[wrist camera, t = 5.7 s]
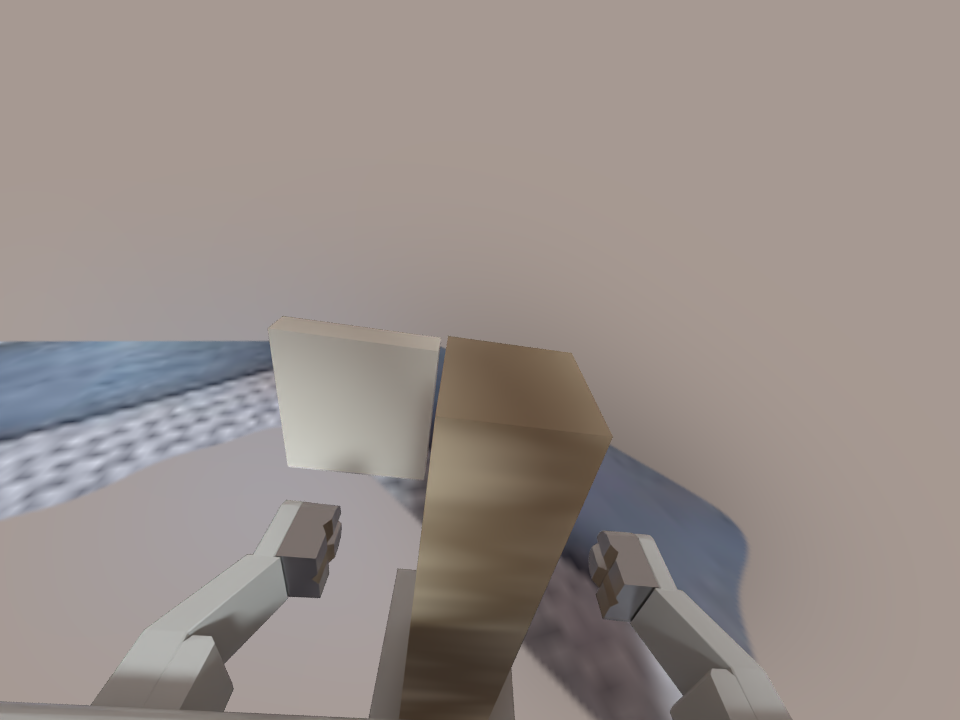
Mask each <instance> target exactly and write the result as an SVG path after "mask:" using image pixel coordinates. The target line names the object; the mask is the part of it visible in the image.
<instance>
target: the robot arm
mask: <svg viewBox="0 0 960 720" xmlns="http://www.w3.org/2000/svg"><path fill="white" fill-rule="evenodd" d="M340 515H341V510H340V506H335V505H326V504H318V503H309V502H301V501H291V500H286V501H285V502H284V503H283V504H282V505H281V506H280V508H279V510H278V511H277V513H276V515H275V517H274V518H273V520H272V522H271V524H270V525H269V527H268V529H267V531H266V532H265V534H264V536H263V538H262V539H261V541H260V543H259V545H258V546H257V548H256V550H255V552H254V553H253V555H251V554H247V555H246V556H244V557H243V558H242V559H240V560H239V561H237V562H236V563H235V564H233V565H232V566H231V567H229V568H228V569H227V570H225V571H224V572H223V573H221V574H220V575H218V576H217V577H216V578H214V579H213V580H212V581H210V582H209V583H207V584H206V585H205V586H203V587H202V588H201V589H199V590H198V591H196V592H195V593H194V594H192V595H191V596H190V597H188V598H187V599H186V600H184V601H183V602H182V603H180V604H179V605H178V606H176V607H175V608H173V609H172V610H171V611H169V612H168V613H166V614H165V615H164V616H162V617H161V618H160V619H158V620H157V621H155V622H154V623H153V624H151V625H150V626H149V627H147V628H146V629H145V630H144V631H143V632H142V634H141V635H140V636H139V638H138V639H137V641H136V642H135V643H134V645H133V646H132V648H131V649H130V651H129V652H128V653H127V655H126V656H125V657H124V659H123V660H122V662H121V663H120V665H119V666H118V667H117V669H116V670H115V672H114V673H113V674H112V676H111V677H110V679H109V680H108V681H107V683H106V684H105V686H104V687H103V688H102V690H101V691H100V693H99V694H98V696H97V697H96V698H95V700H94V701H93V702H92V704H91V705H90V706H89V705H68V704H67V705H66V704H47V703H24V702H23V703H22V702H1V701H0V720H386V719H365V718H344V717H323V716H300V715H279V714H259V713H238V712H237V713H236V712H224V710H225V707H226V705H227V702H228V701H229V698H230V696H231V694H232V692H233V685H232V682H231V679H230V677H229V675H228V673H227V670H226V668H225V666H224V663H226V662H227V660H228V659H229V658H230V657H231V656H232V655H233V654H234V653H235V652H236V651H237V650H238V649H239V648H240V647H241V646H242V645H243V644H244V643H245V642H246V641H247V640H248V639H249V638H250V637H251V636H252V635H253V634H254V633H255V632H256V631H257V630H258V629H259V628H260V627H261V626H262V625H263V624H264V623H265V622H266V621H267V620H268V619H269V618H270V616H271V615H272V614H273V613H274V612H275V611H276V610H277V609H278V608H279V607H280V606H281V605H282V604H283V603H284V602H285V601H286V600H287V599H288V597H310V598H320V597H321V594H322V591H323V589H324V586H325V583H326V580H327V578H328V575H329V565H328V563H329V562H330V561H331V560H332V559H333V558H334V557H335V555H336V552H337V549H338V546H339V542H340V538H341V530H342V527H341V523H340V522H339V521H338V520H339V517H340ZM597 540H598V543H597V544H596V545H594V546H592V548H591V550H590V553H589V562H588V563H589V571H590V575H591V578H592V580H593V581H594V582H595V583H596V585H597V586H598V587H599V588H598V591H597V593H596V597H597V600H598V604H599V607H600V611H601V614H602V618H603V619H607V620H616V621H626V622H631V623H630V624H631V625H632V627H633V628H634V629H635V631H636V632H637V633H638V635H639V636H640V638H641V639H642V640H643V642H644V643H645V644H646V646H647V647H648V648H649V650H650V651H651V653H652V654H653V655H654V657H655V658H656V659H657V661H658V662H659V663H660V665H661V666H662V667H663V669H664V670H665V672H666V673H667V674H668V676H669V677H670V678H671V680H672V681H673V682H674V684H675V685H676V687H677V688H678V689H679V691H680V692H681V693H682V695H683V696H682V697H681V698H680V699H679V700H678V701H677V702H676V703H675V704H674V705H673V706H672V708H671V710H670V713H671V716H672V719H673V720H792V718H791V716H790V715H789V713H788V711H787V709H786V707H785V706H784V704H783V702H782V700H781V699H780V697H779V695H778V693H777V691H776V690H775V688H774V686H773V684H772V683H771V681H770V679H769V677H768V676H767V674H766V672H765V670H764V669H763V668H762V667H761V666H760V665H758V664H757V663H756V662H755V661H754V660H753V659H752V658H751V657H750V656H749V655H748V654H747V653H746V652H745V651H744V650H743V649H742V648H741V647H740V646H739V645H738V644H737V643H736V642H735V641H734V640H733V639H732V638H731V637H730V636H729V635H728V634H727V633H726V632H724V631H723V630H722V629H721V628H720V627H719V626H718V625H717V624H716V623H715V622H714V621H713V620H712V619H711V618H710V617H709V616H708V615H707V614H706V613H705V612H704V611H703V610H702V609H701V608H700V607H699V606H698V605H697V604H696V603H695V602H694V601H693V600H692V599H690V598H689V597H688V596H687V595H686V594H685V593H684V592H683V591H682V590H677V588H676V586H675V584H674V582H673V579H672V577H671V575H670V573H669V571H668V569H667V567H666V565H665V563H664V560H663V558H662V556H661V554H660V552H659V550H658V548H657V546H656V544H655V542H654V539H653V538H652V537H651V536H650V535H644V534H632V533H626V532H613V531H601V532H599V534H598V536H597Z"/></svg>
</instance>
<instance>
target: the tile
mask: <svg viewBox="0 0 960 720" xmlns="http://www.w3.org/2000/svg"><path fill="white" fill-rule="evenodd" d="M268 334H269V341H270V348H271V355H272V362H273V369H274V375H275V382H276V389H277V396H278V403H279V410H280V416H281V423H282V430H283V436H284V444H285V450H286V457H287V464H288V467H296V468H306V469H316V470H325V471H335V472H345V473H355V474H364V475H375V476H385V477H394V478H404V479H414V480H423V481H424V477H425V470H426V464H427V457H428V448H429V439H430V431H431V422H432V413H433V404H434V396H435V387H436V378H437V370H438V361H439V352H440V344H441V338H439V337H432V336H424V335H417V334H410V333H403V332H395V331H388V330H381V329H373V328H366V327H359V326H351V325H344V324H337V323H330V322H322V321H315V320H307V319H300V318H293V317H286V316H282V317H281V318H280V319H279V320H277V321H276V322H275V323H274V324H272V325H271V326H270V327H269V328H268Z"/></svg>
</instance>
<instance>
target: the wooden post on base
mask: <svg viewBox="0 0 960 720" xmlns="http://www.w3.org/2000/svg"><path fill="white" fill-rule="evenodd" d="M612 438H613V436H612V434H611V432H610V430H609V428H608V426H607V424H606V422H605V420H604V418H603V416H602V414H601V412H600V410H599V408H598V406H597V404H596V402H595V400H594V398H593V396H592V394H591V391H590V389H589V387H588V385H587V384H586V381H585V379H584V377H583V375H582V373H581V371H580V369H579V367H578V365H577V363H576V361H575V359H574V357H573V355H572V353H568V352H560V351H553V350H546V349H538V348H531V347H523V346H517V345H508V344H502V343H495V342H487V341H480V340H473V339H465V338H459V337H451V336H448V341H447V347H446V353H445V359H444V366H443V372H442V378H441V384H440V390H439V396H438V403H437V409H436V415H435V423H434V431H433V440H432V448H431V456H430V465H429V473H428V481H427V490H426V498H425V506H424V515H423V523H422V531H421V540H420V548H419V556H418V565H417V570H407V569H398V570H397V575H396V580H395V585H394V591H393V595H392V601H391V606H390V611H389V616H388V621H387V627H386V632H385V637H384V642H383V647H382V652H381V658H380V663H379V668H378V673H377V678H376V683H375V689H374V694H373V699H372V704H371V709H370V714H369V719H386V720H515V718H514V717H515V716H514V702H513V687H512V673H511V667H512V665H513V662H514V660H515V658H516V655H517V653H518V651H519V649H520V647H521V644H522V642H523V640H524V637H525V635H526V633H527V631H528V628H529V626H530V624H531V622H532V619H533V617H534V615H535V612H536V610H537V608H538V606H539V603H540V601H541V599H542V597H543V594H544V592H545V590H546V588H547V585H548V583H549V581H550V578H551V576H552V574H553V572H554V569H555V567H556V565H557V563H558V560H559V558H560V556H561V554H562V551H563V549H564V547H565V544H566V542H567V540H568V538H569V535H570V533H571V531H572V529H573V526H574V524H575V522H576V519H577V517H578V515H579V513H580V510H581V508H582V506H583V504H584V501H585V499H586V497H587V495H588V492H589V490H590V488H591V485H592V483H593V481H594V479H595V476H596V474H597V472H598V470H599V467H600V465H601V463H602V461H603V458H604V456H605V454H606V451H607V449H608V447H609V445H610V442H611V440H612Z"/></svg>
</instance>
